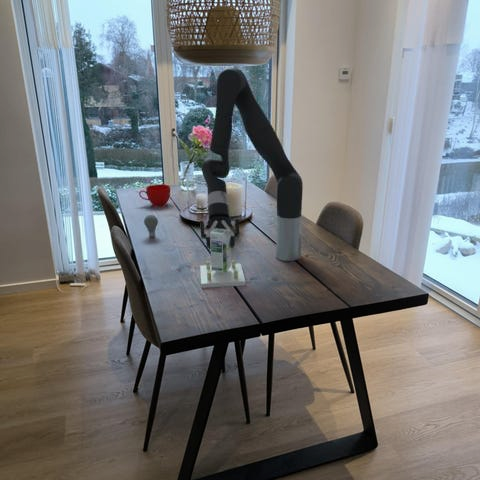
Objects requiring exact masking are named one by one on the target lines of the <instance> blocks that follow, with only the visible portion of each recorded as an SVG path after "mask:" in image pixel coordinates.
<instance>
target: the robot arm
mask: <svg viewBox="0 0 480 480" xmlns="http://www.w3.org/2000/svg"><path fill="white" fill-rule="evenodd" d="M215 104H216V106H215V115H214V121H213V127H212V133H211V140H210V144H209V150H210V152H212V153H214V154H216V155H219V156H220V158H213V157H207V158H204V160H202V163H201V166H200V167H201V172H202V176H203V178H204V181H205V183H206V186H207V214H208V215H207V216H208V220H207V221H203V220H200V221H199V224H200V225H199V227H200V239H202V240H203V239H204V240H206V243H205V244H206V248H207V249H208V250H211V245H210V233H211V232H212V231H213V230H214V229H216V228H218V229H227V230H230V231H231V250H232V249H234V247H235V246H236V243H235V241H236V240H235V239H236V238H239V237H240V222H239V219H235V220H231V217H230V209H229V205H230V204H229V198H228V193H227V192H228V191H227V182H226V181H225V180H223V179H225V178H227V177H228V175H229V174H230V159H229V158H230V157H229V152H230V151H229V150H230V144H231V139H232V132H233V115H234V109H235V108H234V107H235V106H236V108H237V110H238V112H239V115H240V118H241V121H242V124H243V127H244V130H245V132H246V135H247V137H248V139H249V141H250V143H251V144H252V146H253V147H254V149H255V151H257V153H258V154H259V156H260V157H261V158H262V159H263V160H264V162H265V163H266V164H267V165H268V166H269V168H270V170H271V171H272V173H273V175H274V177H275V180H276V183H277V184H276V231H275V232H276V237H275V238H276V239H275V241H276V242H275V258H276V259H278V260H279V261H283V262H293V261H296V260H301V259H302V257H301V255H302V243H303V242H302V237H303V236H302V234H301V232H302V231H301V228H302V209H303V206H302V205H303V179H302V177H301V176H300V173H298V171H297V170H296V169H295V167H294V166H293V164H292V163H291V162H290V160H289V157H287V155H286V152H285V150H284V148H283V145H282V143H281V141H280V139H279V137H278V134H277V133H276V130H275V129H274V128H273V126H272V124H271V122H270V120H269V119H268V117H267V116H266V114H265V112H264V110H263V109H262V108H261V106H260V105H259V103H258V102H257V99H256V98H255V95H254V92H253V91H252V89H251V87H250V84H249V81H248V79H247V77H246V75H245V73H244V72H243V71H242V70H241V69H240V68H237V67H230V68H225V69H224V70H221V71H220V72H219V74H218V76H217V79H216V103H215ZM231 225H232V226H233V227H234V232H233V230H232V229H231ZM207 226H208V227H209V229H208V231H207V233H205V229H206V228H207Z"/></svg>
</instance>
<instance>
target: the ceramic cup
mask: <svg viewBox="0 0 480 480" xmlns="http://www.w3.org/2000/svg"><path fill="white" fill-rule="evenodd" d="M141 193H145V194H146V197H147V198H145V197H143V195H141ZM138 195H139V197H140V198H141V199H143V200H145V201H149V203H151V205H152V206H154V207H163V206H166V204H167V203H168V202H169V200H170V197H171V186H170V185H167V184H162V183H161V184H152V185H148V186H146V188H145V190H140V191H139V192H138Z"/></svg>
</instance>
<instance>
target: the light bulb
mask: <svg viewBox="0 0 480 480" xmlns="http://www.w3.org/2000/svg"><path fill="white" fill-rule="evenodd" d="M143 223H144V226H145V227H146V228H147V232H148V235H149V237H150V238H153V237H155V236H156V228H157V226H158V225H159V219H158V217H157V216H156V215H154V214H149V215H146V216H145V218H144V220H143Z"/></svg>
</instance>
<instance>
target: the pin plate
mask: <svg viewBox="0 0 480 480" xmlns="http://www.w3.org/2000/svg"><path fill="white" fill-rule="evenodd" d="M199 267H200V268H199V270H200V286H201V289H202V288H205V289H206V288H216V287H217V288H219V287H239V286H240V287H241V286H246V279H245V275H244V272H243V268H242V264H241V263H236V260H235V259H231V267H230V268H229V270H228V271H227V272H226V273H223V272H216V271H211V261H206V262H205V264H202V265H201V264H200V266H199Z"/></svg>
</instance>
